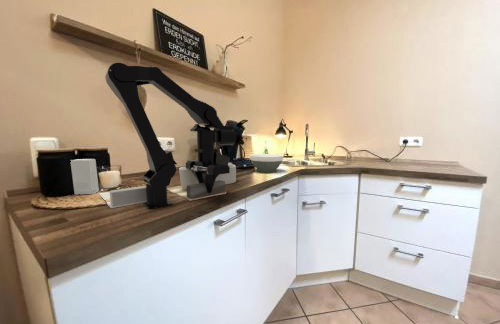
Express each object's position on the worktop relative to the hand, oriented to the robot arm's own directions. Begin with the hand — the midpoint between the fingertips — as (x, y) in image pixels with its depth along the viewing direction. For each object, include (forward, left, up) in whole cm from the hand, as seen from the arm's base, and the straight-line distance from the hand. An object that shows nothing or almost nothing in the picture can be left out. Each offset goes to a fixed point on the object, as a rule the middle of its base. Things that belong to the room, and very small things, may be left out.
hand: (206, 191), depth 75 cm
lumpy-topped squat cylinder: (+16, -18, -2) cm, 24 cm away
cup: (+13, 0, -1) cm, 13 cm away
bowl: (+25, -55, -2) cm, 61 cm away
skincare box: (+31, +30, -2) cm, 43 cm away
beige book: (+8, 0, -1) cm, 9 cm away
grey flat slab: (+16, +20, -1) cm, 26 cm away
